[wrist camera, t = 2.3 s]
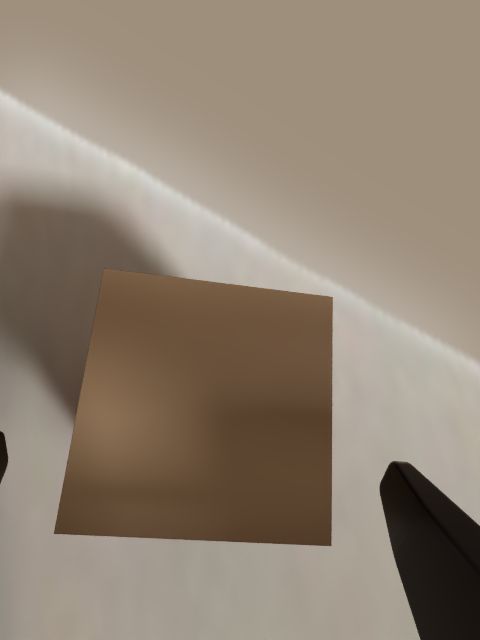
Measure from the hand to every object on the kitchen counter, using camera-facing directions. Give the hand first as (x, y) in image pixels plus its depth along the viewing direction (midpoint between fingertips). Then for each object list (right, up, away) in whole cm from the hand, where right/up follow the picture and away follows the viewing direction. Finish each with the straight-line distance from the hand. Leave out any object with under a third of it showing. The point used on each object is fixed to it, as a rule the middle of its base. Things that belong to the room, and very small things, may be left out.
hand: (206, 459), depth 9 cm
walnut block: (-1, -1, +9) cm, 9 cm away
